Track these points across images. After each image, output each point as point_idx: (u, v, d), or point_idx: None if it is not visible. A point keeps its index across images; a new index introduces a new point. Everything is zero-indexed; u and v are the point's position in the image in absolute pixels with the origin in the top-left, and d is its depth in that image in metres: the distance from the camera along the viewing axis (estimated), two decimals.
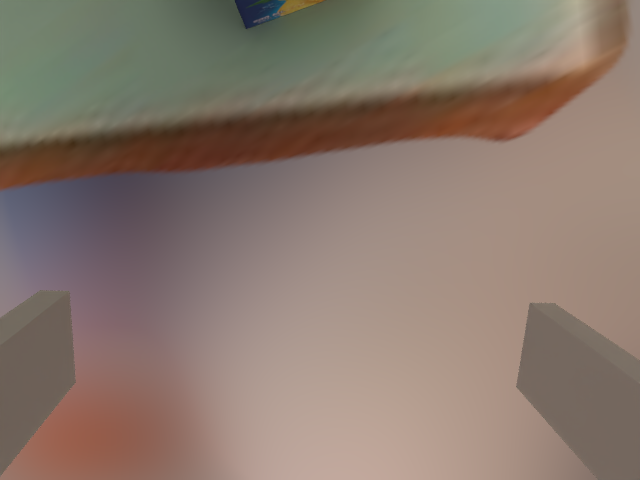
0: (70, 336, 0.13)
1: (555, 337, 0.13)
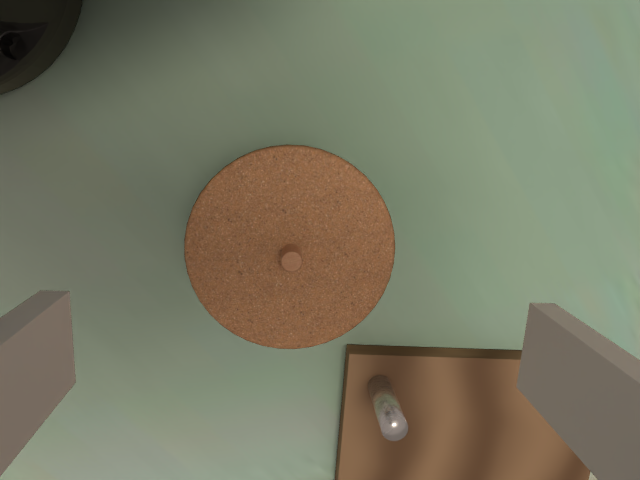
0: (70, 336, 0.13)
1: (555, 336, 0.13)
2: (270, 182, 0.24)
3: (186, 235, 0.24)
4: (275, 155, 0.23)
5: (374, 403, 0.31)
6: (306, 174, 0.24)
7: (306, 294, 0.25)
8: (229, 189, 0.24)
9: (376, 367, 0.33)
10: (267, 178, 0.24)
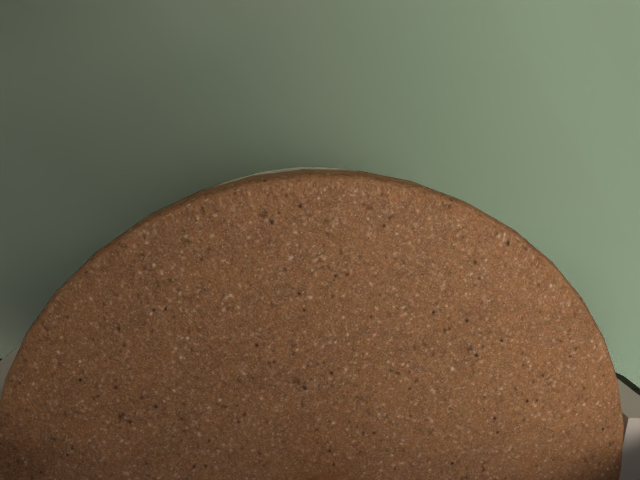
0: None
1: None
2: (253, 297, 0.07)
3: None
4: (268, 209, 0.07)
5: None
6: (372, 270, 0.07)
7: None
8: (116, 324, 0.07)
9: None
10: (242, 285, 0.07)
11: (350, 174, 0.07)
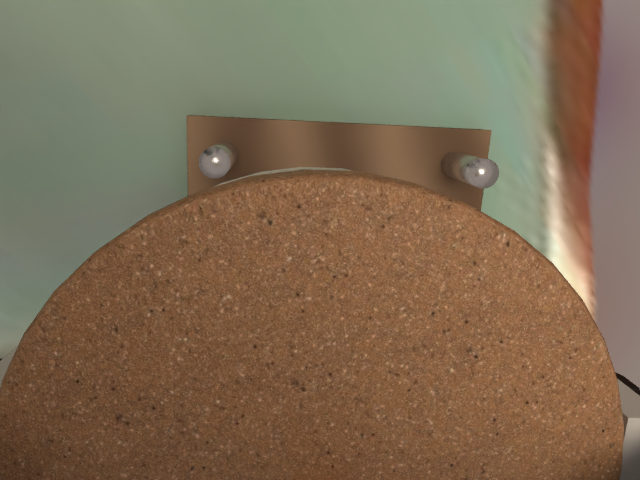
0: None
1: None
2: (251, 299, 0.07)
3: None
4: (266, 210, 0.07)
5: None
6: (371, 271, 0.07)
7: None
8: (114, 326, 0.07)
9: (219, 132, 0.30)
10: (241, 286, 0.07)
11: (349, 174, 0.07)
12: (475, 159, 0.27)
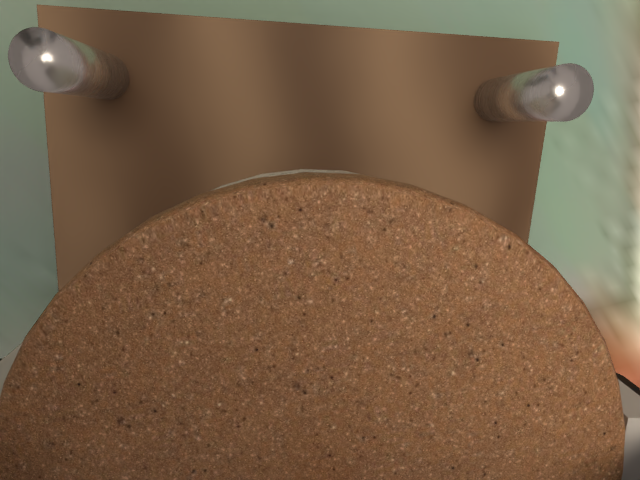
0: None
1: None
2: (253, 302, 0.07)
3: None
4: (268, 213, 0.07)
5: None
6: (373, 274, 0.07)
7: None
8: (116, 328, 0.07)
9: (96, 36, 0.17)
10: (242, 289, 0.07)
11: (351, 178, 0.07)
12: (547, 68, 0.14)
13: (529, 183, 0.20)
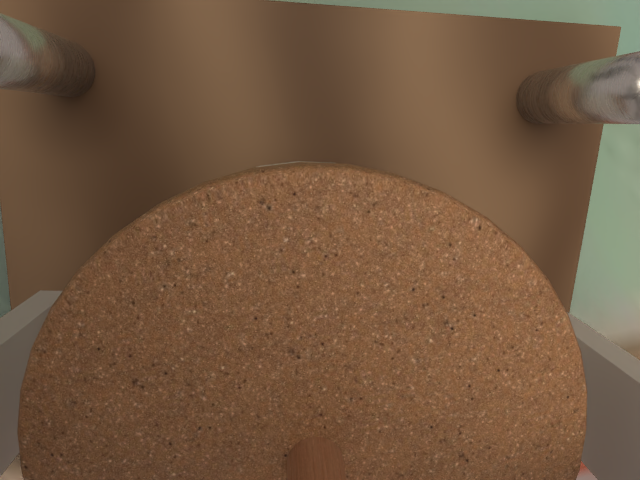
0: None
1: None
2: (252, 275, 0.08)
3: (19, 423, 0.09)
4: (266, 196, 0.08)
5: None
6: (358, 251, 0.08)
7: None
8: (131, 299, 0.08)
9: (52, 19, 0.14)
10: (243, 264, 0.08)
11: (339, 166, 0.08)
12: (629, 54, 0.11)
13: (581, 198, 0.16)
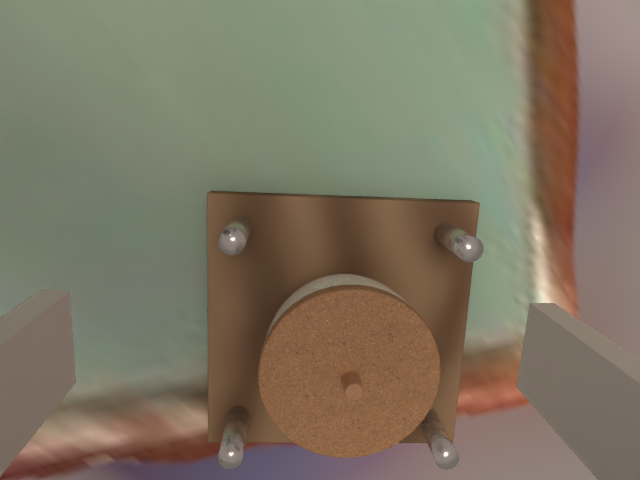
0: (70, 336, 0.13)
1: (555, 336, 0.13)
2: (333, 321, 0.27)
3: (260, 366, 0.28)
4: (337, 298, 0.27)
5: None
6: (364, 313, 0.27)
7: (364, 412, 0.29)
8: (297, 328, 0.27)
9: (235, 207, 0.34)
10: (330, 317, 0.27)
11: (358, 288, 0.27)
12: (462, 236, 0.30)
13: (467, 276, 0.36)
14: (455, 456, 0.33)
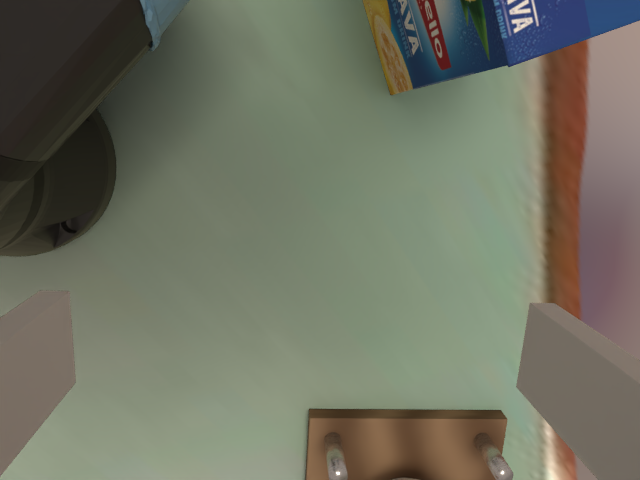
0: (70, 336, 0.13)
1: (555, 336, 0.13)
2: None
3: None
4: None
5: (326, 456, 0.43)
6: None
7: None
8: None
9: (330, 427, 0.46)
10: None
11: None
12: (498, 464, 0.43)
13: None
14: None
